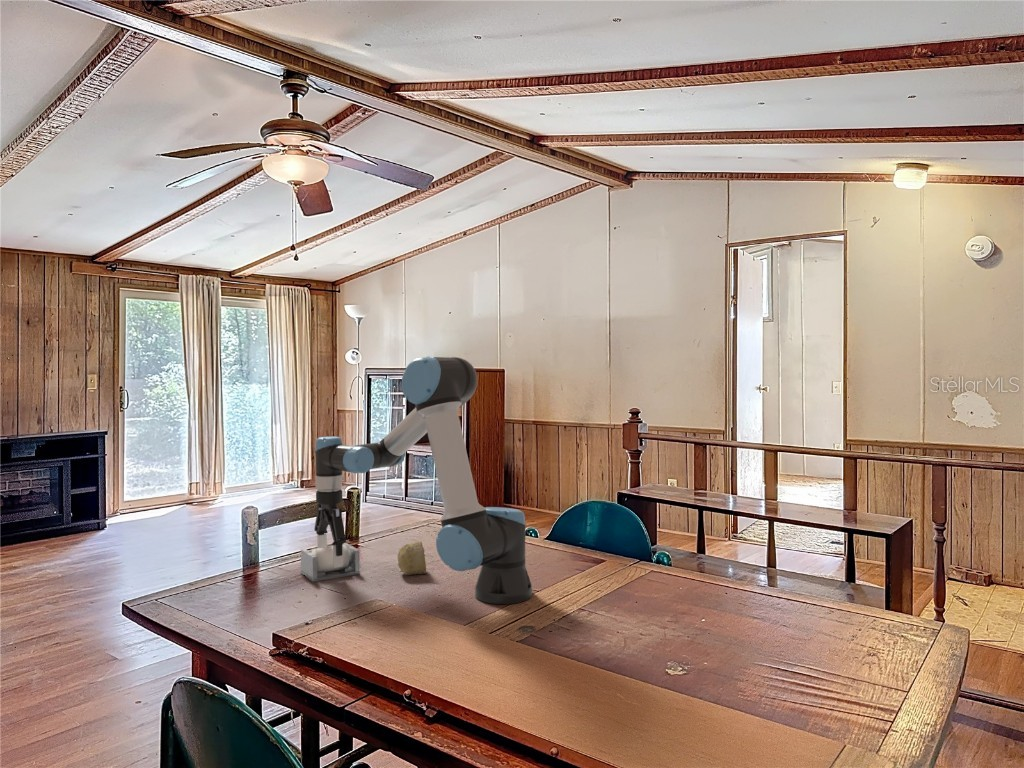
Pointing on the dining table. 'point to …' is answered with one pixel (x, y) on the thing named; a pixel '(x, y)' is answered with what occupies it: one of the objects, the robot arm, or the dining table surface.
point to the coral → (412, 559)
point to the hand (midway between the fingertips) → (329, 561)
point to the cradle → (311, 571)
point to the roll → (329, 559)
